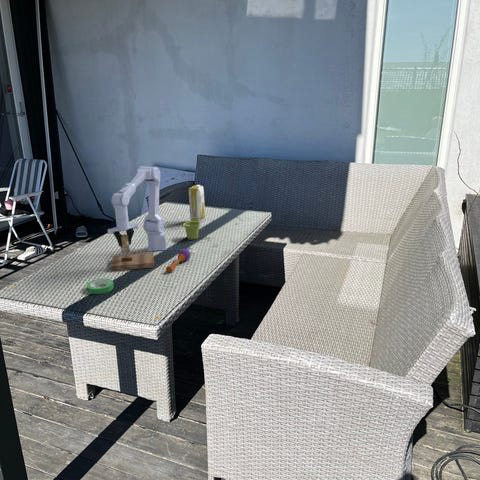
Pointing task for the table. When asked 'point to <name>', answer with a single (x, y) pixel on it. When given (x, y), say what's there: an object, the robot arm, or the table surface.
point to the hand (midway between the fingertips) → (124, 245)
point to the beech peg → (125, 243)
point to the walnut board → (132, 261)
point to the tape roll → (100, 290)
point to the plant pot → (192, 229)
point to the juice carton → (197, 203)
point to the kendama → (179, 259)
